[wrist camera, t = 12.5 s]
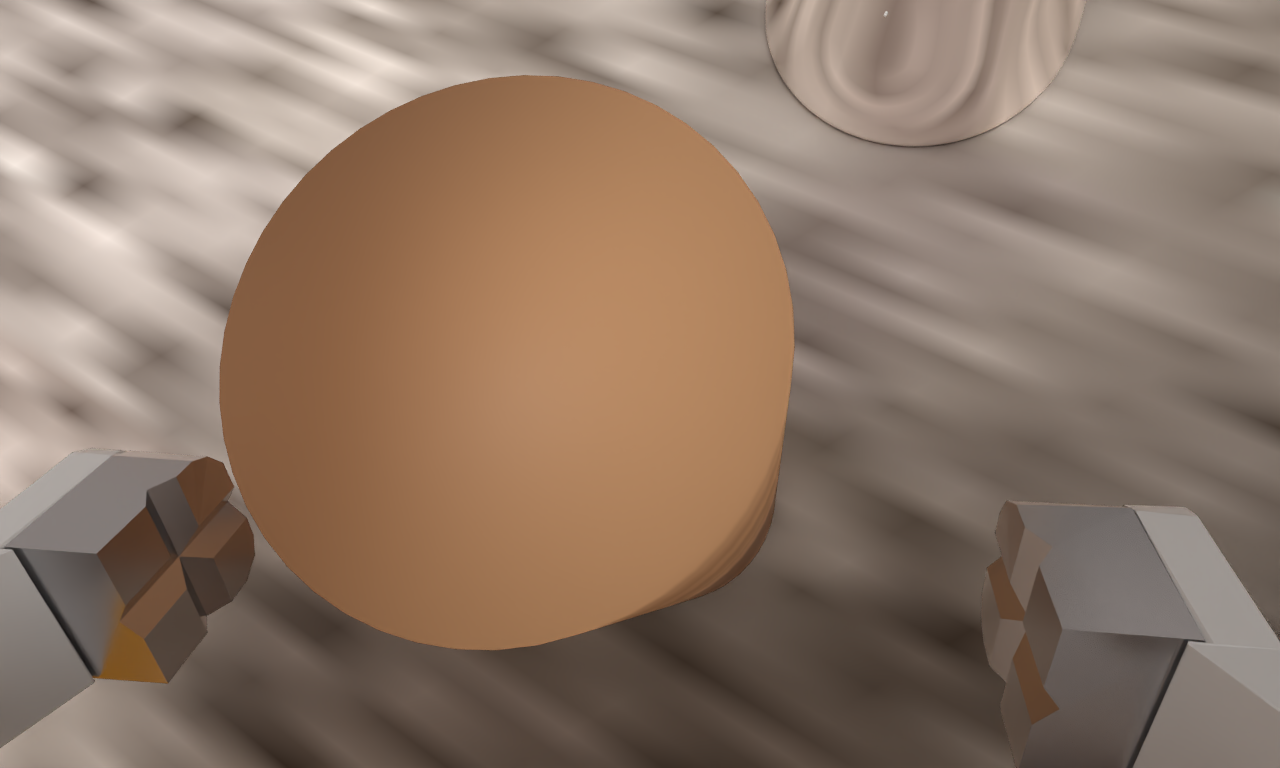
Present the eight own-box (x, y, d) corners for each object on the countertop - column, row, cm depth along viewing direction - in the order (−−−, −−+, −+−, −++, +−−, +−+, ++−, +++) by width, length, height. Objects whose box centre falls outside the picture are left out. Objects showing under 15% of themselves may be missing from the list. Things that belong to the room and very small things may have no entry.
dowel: (779, 390, 15) (802, 67, 6) (771, 610, 14) (785, 679, 5) (572, 382, 16) (273, 82, 6) (552, 592, 15) (167, 622, 5)
